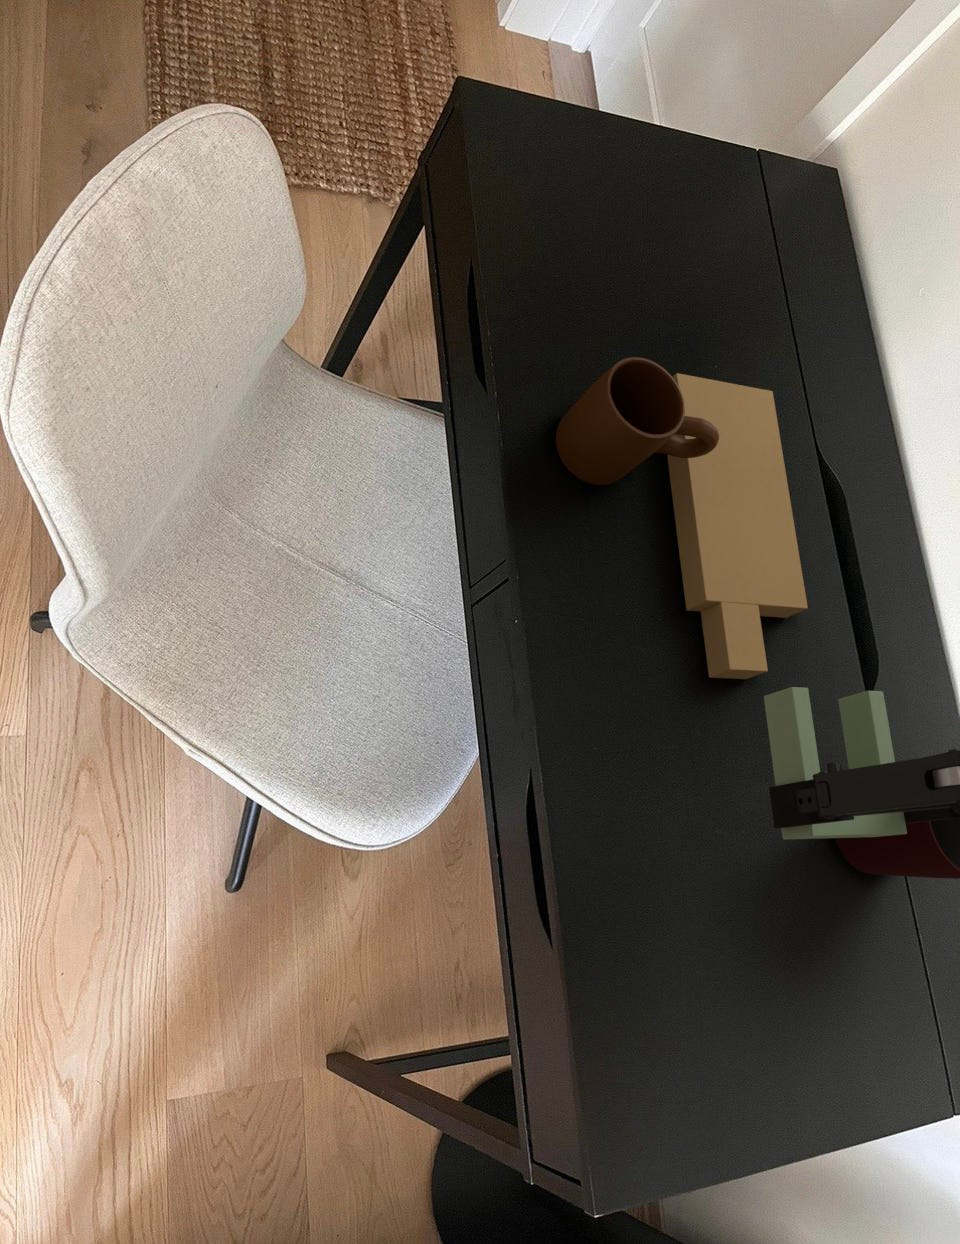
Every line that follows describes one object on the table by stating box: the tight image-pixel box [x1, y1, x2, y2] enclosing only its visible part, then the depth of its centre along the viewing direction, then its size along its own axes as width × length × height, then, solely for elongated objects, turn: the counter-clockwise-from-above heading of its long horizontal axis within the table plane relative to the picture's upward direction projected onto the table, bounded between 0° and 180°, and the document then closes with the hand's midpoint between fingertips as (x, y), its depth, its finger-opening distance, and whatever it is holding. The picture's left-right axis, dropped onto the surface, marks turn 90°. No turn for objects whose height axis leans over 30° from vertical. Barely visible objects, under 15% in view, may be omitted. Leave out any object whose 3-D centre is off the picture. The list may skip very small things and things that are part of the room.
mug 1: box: [555, 356, 719, 486], centre depth 79 cm, size 12×8×9 cm, turn 78°
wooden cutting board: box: [666, 372, 808, 680], centre depth 84 cm, size 11×28×3 cm, turn 3°
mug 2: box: [835, 814, 960, 880], centre depth 77 cm, size 12×9×11 cm
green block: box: [763, 686, 907, 840], centre depth 63 cm, size 10×8×3 cm
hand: (827, 807), depth 64 cm, fingers closed on green block, 8 cm apart
